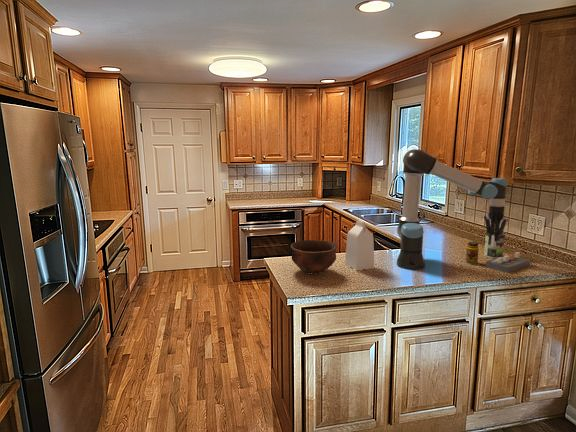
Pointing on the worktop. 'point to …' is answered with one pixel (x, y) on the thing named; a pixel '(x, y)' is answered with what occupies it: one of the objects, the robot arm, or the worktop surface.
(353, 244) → the milk
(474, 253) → the condiment
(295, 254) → the bowl
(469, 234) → the worktop surface
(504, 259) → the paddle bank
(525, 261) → the switch panel
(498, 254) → the coffee can
